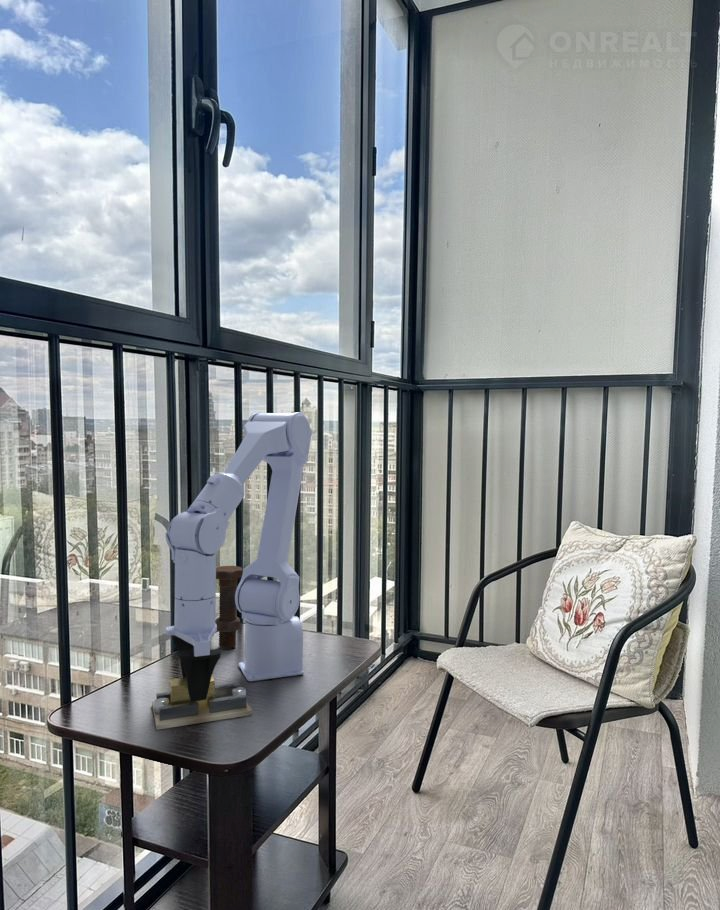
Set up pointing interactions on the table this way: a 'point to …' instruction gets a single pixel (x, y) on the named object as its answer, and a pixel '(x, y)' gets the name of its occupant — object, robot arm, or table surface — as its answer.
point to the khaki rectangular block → (182, 696)
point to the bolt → (227, 605)
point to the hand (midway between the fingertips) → (194, 689)
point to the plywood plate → (201, 717)
